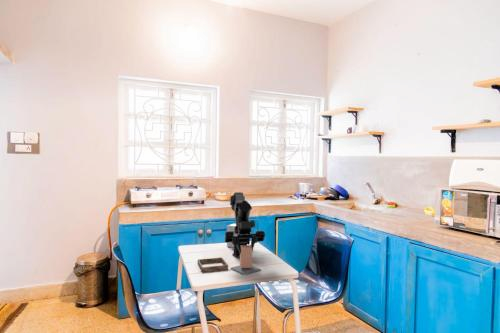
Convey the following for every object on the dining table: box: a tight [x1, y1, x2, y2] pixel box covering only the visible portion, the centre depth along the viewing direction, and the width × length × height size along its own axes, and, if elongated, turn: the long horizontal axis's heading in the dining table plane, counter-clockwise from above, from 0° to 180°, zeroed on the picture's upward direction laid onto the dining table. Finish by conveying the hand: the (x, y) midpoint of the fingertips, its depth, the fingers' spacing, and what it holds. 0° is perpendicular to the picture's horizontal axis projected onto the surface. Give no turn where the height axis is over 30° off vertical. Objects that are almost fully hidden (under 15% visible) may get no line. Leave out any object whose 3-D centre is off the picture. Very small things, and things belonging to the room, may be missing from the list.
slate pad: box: [230, 264, 262, 276], centre depth 146 cm, size 10×10×1 cm
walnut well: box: [197, 256, 229, 273], centre depth 150 cm, size 12×12×2 cm
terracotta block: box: [239, 244, 253, 268], centre depth 146 cm, size 5×5×9 cm
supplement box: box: [226, 223, 236, 249], centre depth 185 cm, size 7×7×13 cm
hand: (246, 252), depth 144 cm, fingers closed on terracotta block, 5 cm apart
